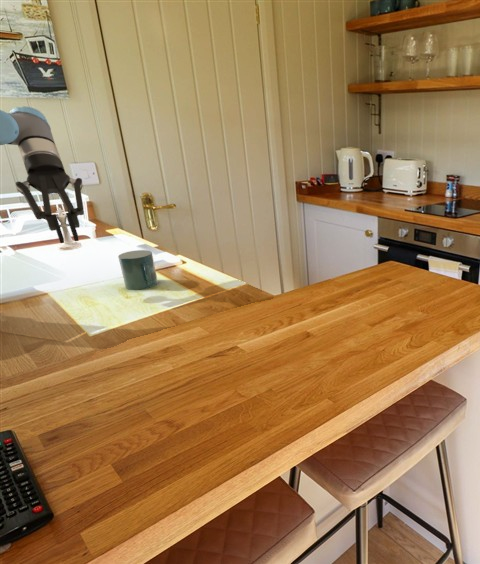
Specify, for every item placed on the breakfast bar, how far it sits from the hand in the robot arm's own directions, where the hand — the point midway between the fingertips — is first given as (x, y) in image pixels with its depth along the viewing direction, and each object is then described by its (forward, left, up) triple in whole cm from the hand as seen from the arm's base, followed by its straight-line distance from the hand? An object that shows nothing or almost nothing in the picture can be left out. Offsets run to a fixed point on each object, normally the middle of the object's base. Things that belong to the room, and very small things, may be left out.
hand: (69, 238), depth 102 cm
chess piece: (-2, +3, -3) cm, 5 cm away
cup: (+9, +11, -17) cm, 22 cm away
